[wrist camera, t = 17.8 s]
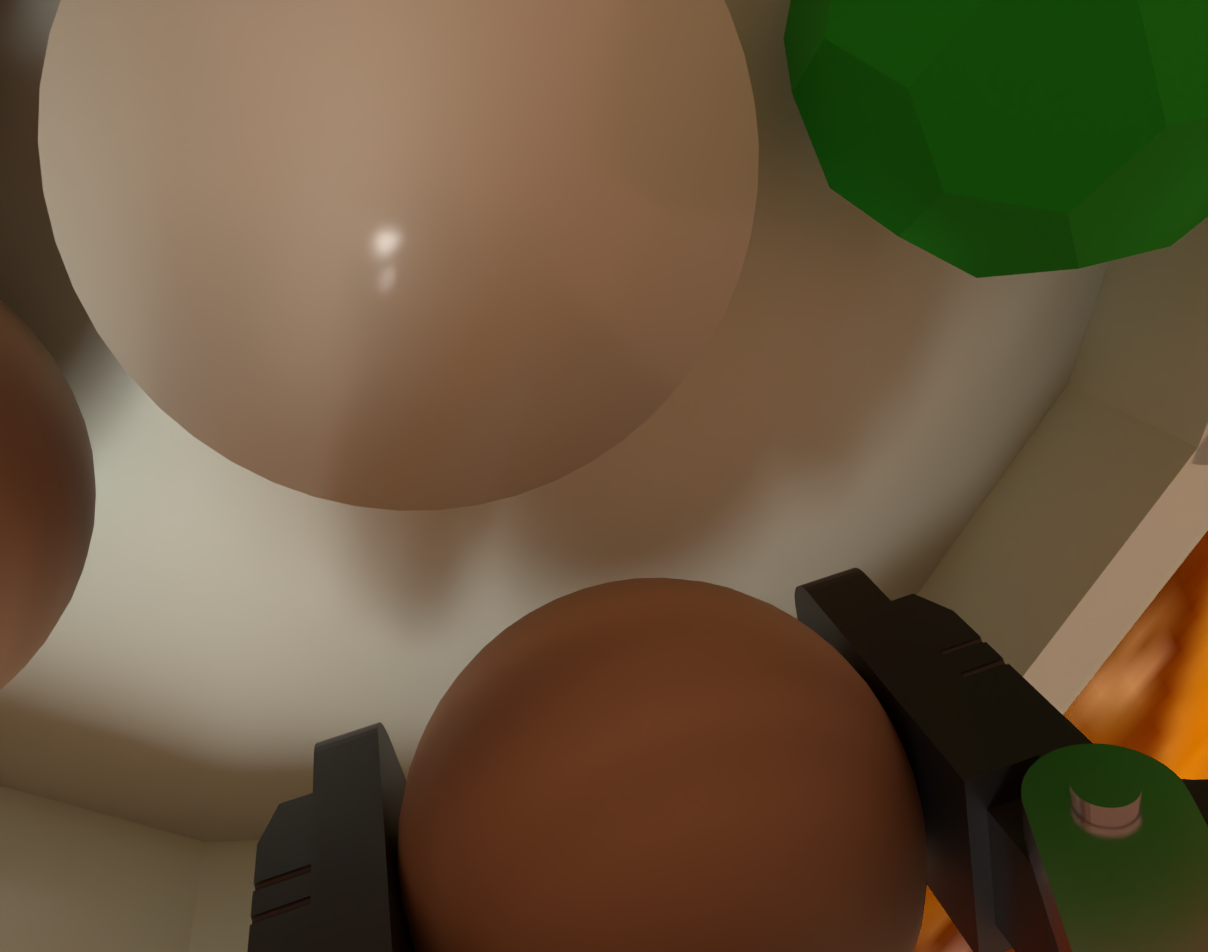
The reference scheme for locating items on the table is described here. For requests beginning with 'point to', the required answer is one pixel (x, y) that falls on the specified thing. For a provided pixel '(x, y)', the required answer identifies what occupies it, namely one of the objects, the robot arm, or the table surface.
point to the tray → (502, 396)
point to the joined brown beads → (38, 493)
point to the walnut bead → (661, 787)
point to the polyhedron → (1010, 123)
